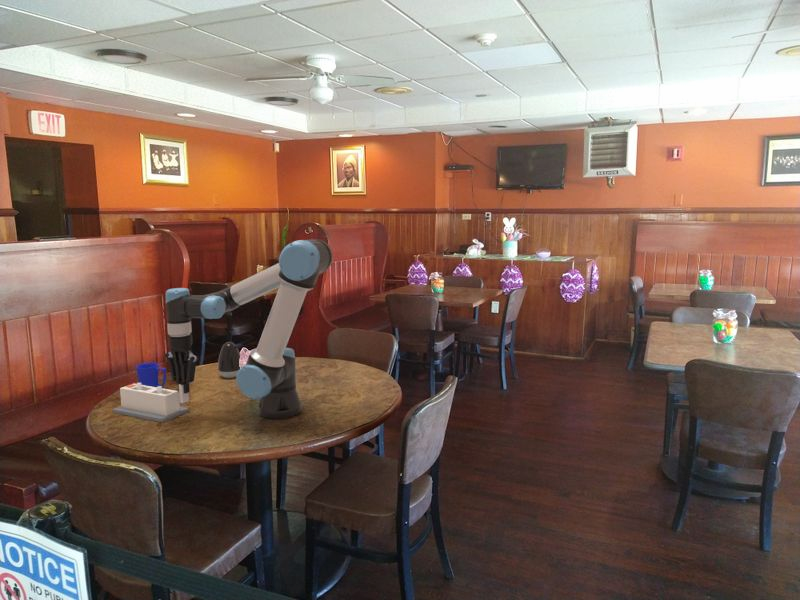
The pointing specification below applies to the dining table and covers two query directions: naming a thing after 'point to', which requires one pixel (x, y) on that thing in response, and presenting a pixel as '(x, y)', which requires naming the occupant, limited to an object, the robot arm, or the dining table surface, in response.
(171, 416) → the grey piece
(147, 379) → the mug
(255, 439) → the dining table surface
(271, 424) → the dining table surface
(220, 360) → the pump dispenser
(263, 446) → the dining table surface
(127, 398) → the white slotted block
